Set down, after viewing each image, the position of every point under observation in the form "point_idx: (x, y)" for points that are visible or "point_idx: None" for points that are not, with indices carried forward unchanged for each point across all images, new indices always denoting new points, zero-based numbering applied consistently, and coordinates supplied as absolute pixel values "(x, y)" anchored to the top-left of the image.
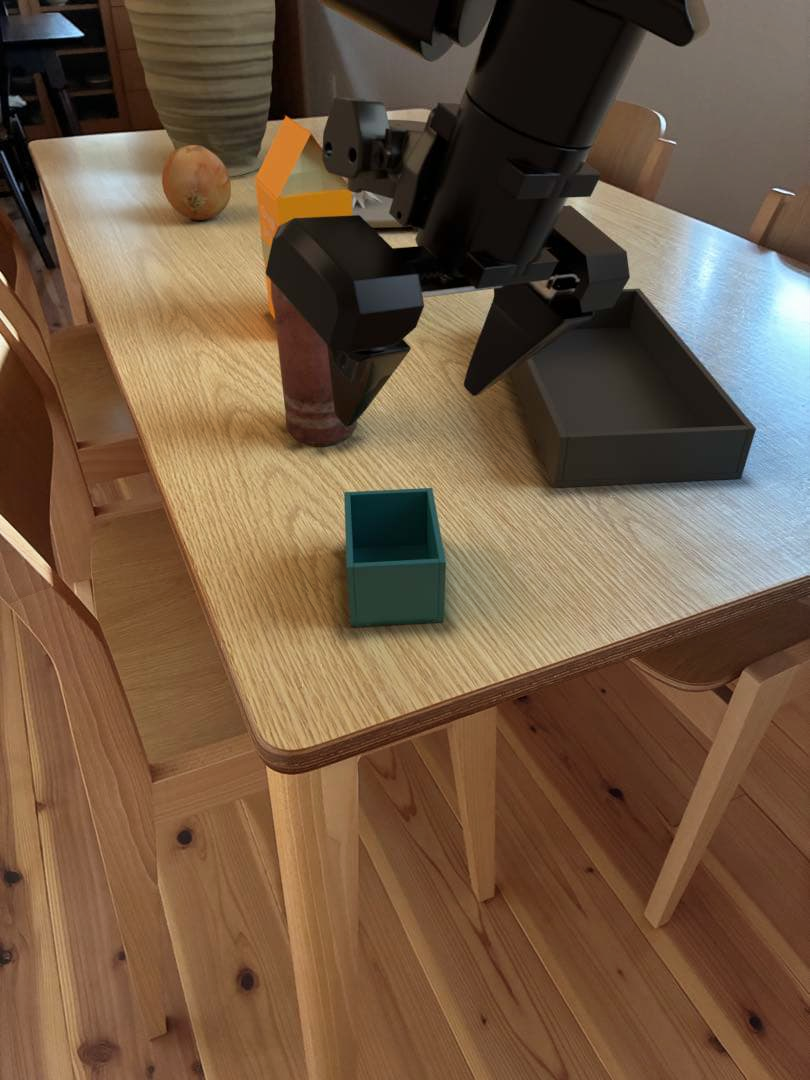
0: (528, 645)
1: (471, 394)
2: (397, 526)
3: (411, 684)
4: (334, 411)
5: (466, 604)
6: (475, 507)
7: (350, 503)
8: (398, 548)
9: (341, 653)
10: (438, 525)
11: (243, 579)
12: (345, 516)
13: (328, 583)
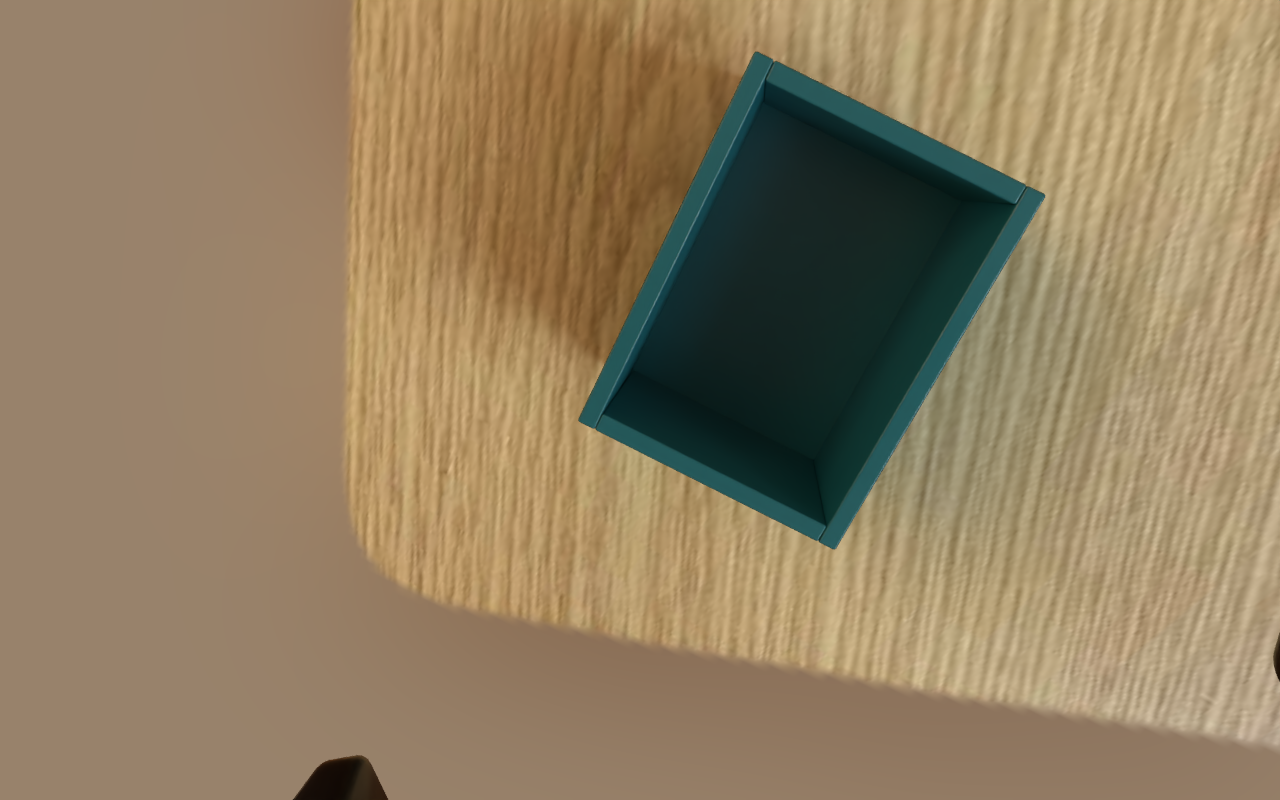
0: (941, 635)
1: (1274, 650)
2: (893, 160)
3: (649, 587)
4: (313, 773)
5: (907, 452)
6: (1238, 89)
7: (739, 130)
8: (877, 176)
9: (560, 432)
10: (923, 396)
11: (446, 53)
12: (688, 194)
13: (640, 191)
